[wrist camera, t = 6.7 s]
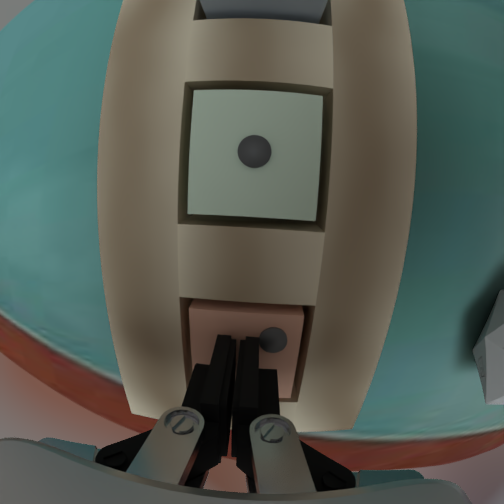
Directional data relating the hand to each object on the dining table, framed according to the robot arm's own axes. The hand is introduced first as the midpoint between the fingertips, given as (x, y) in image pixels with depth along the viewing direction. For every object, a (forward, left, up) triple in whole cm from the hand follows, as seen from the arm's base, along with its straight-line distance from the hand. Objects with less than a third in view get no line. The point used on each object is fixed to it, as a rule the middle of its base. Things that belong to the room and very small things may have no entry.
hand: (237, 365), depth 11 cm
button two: (0, 0, -3) cm, 3 cm away
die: (-19, +1, -5) cm, 20 cm away
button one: (0, -8, -3) cm, 9 cm away
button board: (0, -8, -4) cm, 9 cm away
